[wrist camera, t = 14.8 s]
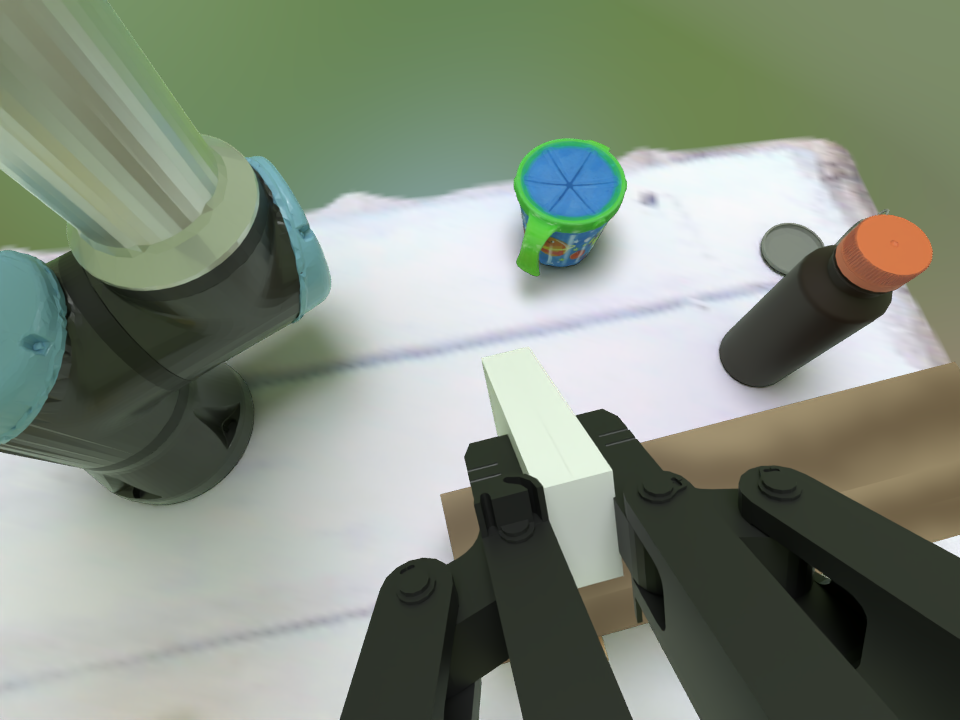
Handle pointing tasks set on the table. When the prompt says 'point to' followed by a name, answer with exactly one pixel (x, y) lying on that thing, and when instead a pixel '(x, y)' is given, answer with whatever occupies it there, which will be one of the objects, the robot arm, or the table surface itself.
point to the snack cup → (566, 200)
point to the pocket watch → (792, 244)
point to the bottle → (825, 299)
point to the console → (807, 464)
